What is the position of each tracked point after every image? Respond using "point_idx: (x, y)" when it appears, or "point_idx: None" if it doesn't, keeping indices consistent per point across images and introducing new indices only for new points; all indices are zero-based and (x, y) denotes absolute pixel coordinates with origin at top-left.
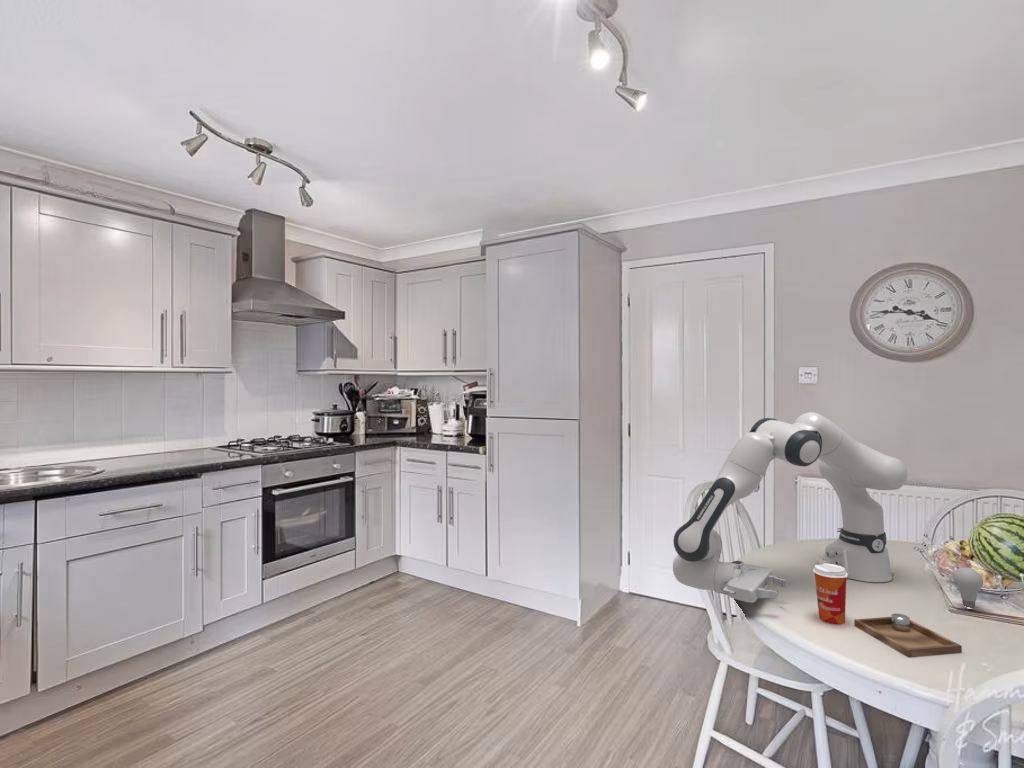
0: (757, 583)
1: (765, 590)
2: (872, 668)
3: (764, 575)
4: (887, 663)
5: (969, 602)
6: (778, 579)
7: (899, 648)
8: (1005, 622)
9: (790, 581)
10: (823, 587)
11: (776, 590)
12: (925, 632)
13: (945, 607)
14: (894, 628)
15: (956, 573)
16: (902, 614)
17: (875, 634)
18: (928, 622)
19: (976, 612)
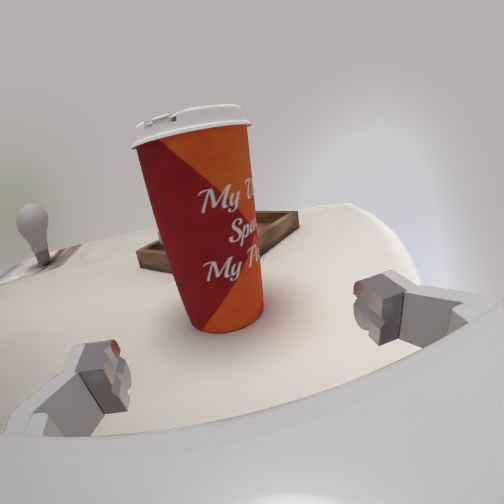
0: (476, 329)
1: (450, 290)
2: (379, 225)
3: (92, 448)
4: (341, 227)
5: (47, 250)
6: (75, 379)
7: (290, 221)
8: (80, 246)
9: None
10: (250, 173)
11: (364, 280)
12: None
13: (43, 272)
14: None
15: (29, 213)
16: (158, 232)
17: (262, 240)
18: (112, 261)
19: (54, 259)
